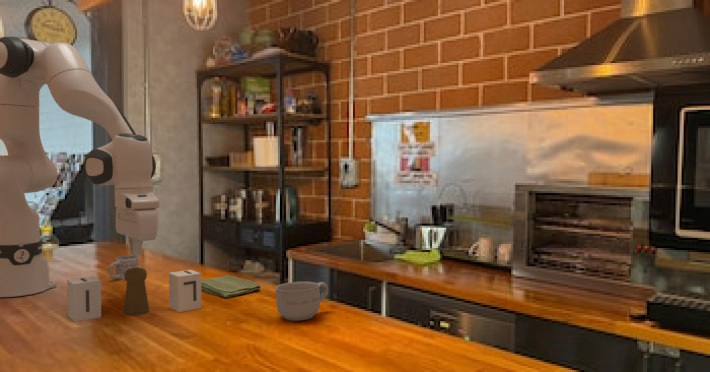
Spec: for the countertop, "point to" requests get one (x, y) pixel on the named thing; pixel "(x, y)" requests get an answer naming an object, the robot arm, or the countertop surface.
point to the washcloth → (228, 286)
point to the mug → (123, 266)
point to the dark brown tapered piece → (136, 292)
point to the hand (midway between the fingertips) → (135, 254)
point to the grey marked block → (84, 298)
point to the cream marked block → (185, 290)
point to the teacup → (299, 299)
